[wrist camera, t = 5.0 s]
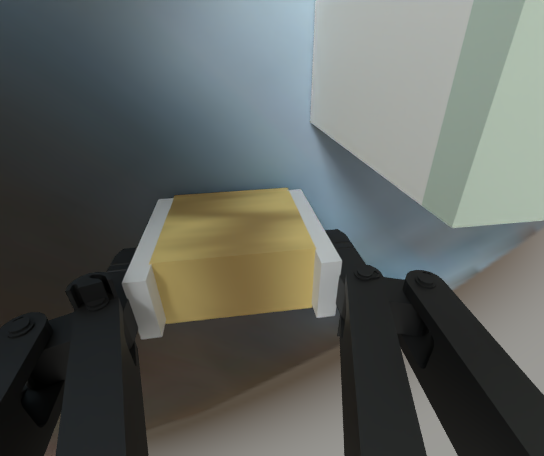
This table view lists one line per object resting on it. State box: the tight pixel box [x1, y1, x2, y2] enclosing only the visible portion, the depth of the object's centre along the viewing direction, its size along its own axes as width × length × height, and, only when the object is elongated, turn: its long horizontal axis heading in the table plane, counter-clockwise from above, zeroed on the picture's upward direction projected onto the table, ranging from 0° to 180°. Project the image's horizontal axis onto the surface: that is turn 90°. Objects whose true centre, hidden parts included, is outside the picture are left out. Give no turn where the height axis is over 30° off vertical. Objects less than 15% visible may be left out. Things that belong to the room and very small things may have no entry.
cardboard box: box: [149, 188, 316, 324], centre depth 14 cm, size 6×3×6 cm, turn 91°
